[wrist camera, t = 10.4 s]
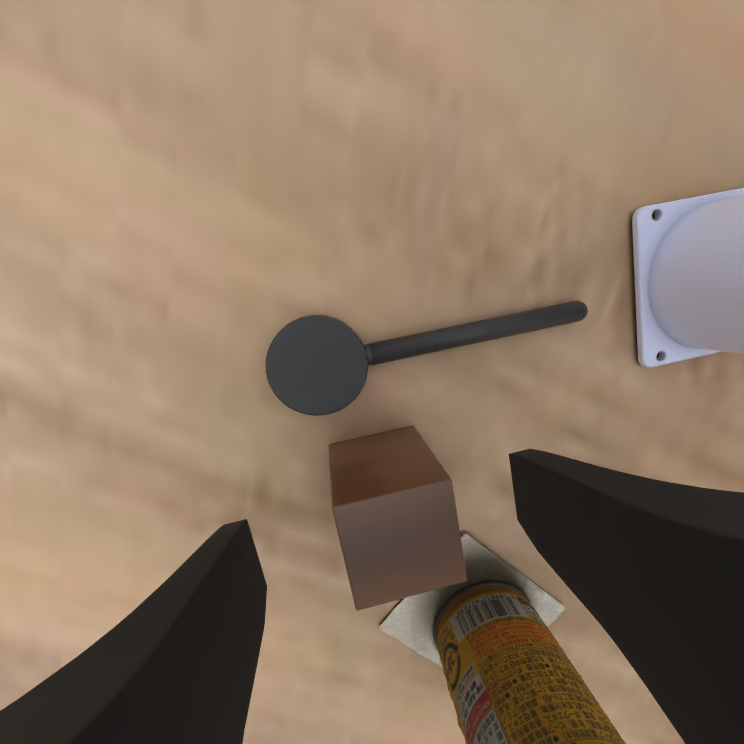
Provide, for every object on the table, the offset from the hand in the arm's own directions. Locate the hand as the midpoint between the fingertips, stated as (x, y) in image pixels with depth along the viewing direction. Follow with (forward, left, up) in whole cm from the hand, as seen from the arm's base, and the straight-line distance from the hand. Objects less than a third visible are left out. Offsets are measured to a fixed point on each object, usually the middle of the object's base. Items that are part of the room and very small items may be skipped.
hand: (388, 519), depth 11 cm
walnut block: (0, +3, -9) cm, 10 cm away
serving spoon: (-4, -3, -9) cm, 11 cm away
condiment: (-4, +13, -10) cm, 17 cm away
